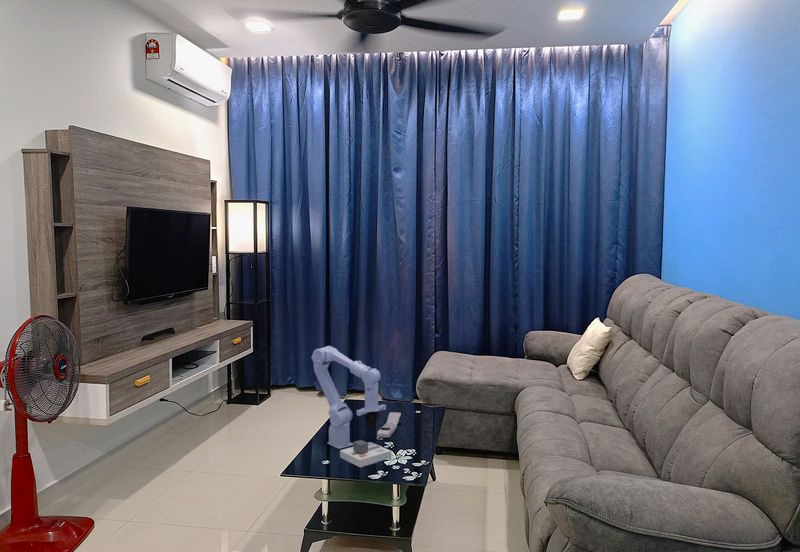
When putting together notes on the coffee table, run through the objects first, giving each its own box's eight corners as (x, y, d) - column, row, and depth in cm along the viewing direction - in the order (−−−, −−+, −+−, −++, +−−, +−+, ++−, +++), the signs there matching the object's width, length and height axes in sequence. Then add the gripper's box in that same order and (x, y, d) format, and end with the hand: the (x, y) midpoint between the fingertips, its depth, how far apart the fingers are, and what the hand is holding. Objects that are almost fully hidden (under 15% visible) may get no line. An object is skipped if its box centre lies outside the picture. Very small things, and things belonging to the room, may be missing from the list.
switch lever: (360, 448, 241) (360, 439, 241) (368, 451, 238) (368, 443, 237) (353, 450, 239) (353, 442, 239) (360, 453, 235) (360, 445, 235)
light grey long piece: (401, 412, 285) (387, 427, 261) (401, 424, 285) (387, 440, 261) (389, 411, 286) (374, 426, 262) (389, 423, 287) (374, 439, 263)
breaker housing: (370, 448, 250) (370, 441, 250) (391, 457, 240) (391, 450, 240) (339, 457, 240) (339, 449, 240) (360, 467, 229) (360, 459, 229)
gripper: (363, 402, 239) (363, 434, 240) (390, 396, 249) (390, 427, 249) (353, 399, 245) (353, 430, 245) (380, 393, 254) (380, 423, 255)
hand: (371, 429), depth 248 cm, fingers closed
